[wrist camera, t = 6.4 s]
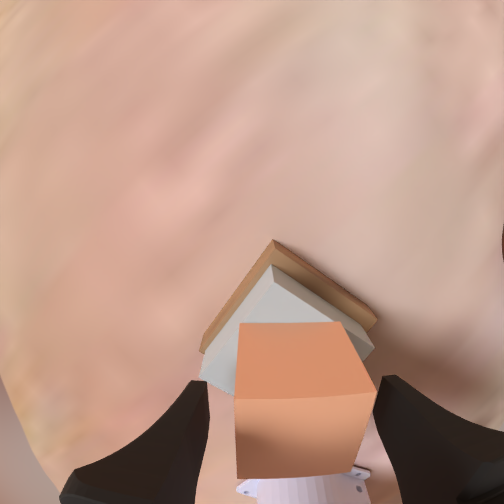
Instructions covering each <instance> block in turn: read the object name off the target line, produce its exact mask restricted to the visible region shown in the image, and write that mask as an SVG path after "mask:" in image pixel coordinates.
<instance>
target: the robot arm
mask: <svg viewBox="0 0 504 504" xmlns="http://www.w3.org/2000/svg"><path fill="white" fill-rule="evenodd" d="M373 416H374V420H375V424H376V427H377V431H378V433H379V436H380V438H381V440H382V443H383V445H384V447H385V450H386V452H387V454H388V457H389V459H390V461H391V464H392V466H393V469H394V471H395V474H396V477H397V481H398V485H399V489H400V493H401V497H402V502H403V504H504V432H502V431H497V430H493V429H490V428H486V427H483V426H480V425H478V424H475V423H472V422H470V421H467V420H465V419H463V418H461V417H459V416H457V415H455V414H453V413H451V412H449V411H447V410H446V409H444V408H442V407H441V406H439V405H438V404H436V403H435V402H433V401H432V400H430V399H429V398H427V397H426V396H424V395H423V394H421V393H420V392H419V391H417V390H416V389H415V388H413V387H412V386H411V385H409V384H408V383H406V382H405V381H404V380H402V379H401V378H399V377H398V376H396V375H389V376H382V380H381V384H380V388H379V391H378V395H377V398H376V402H375V405H374V408H373ZM209 421H210V413H209V402H208V390H207V381H194V380H192V381H190V382H189V383H188V385H187V386H186V388H185V389H184V390H183V392H182V393H181V394H180V396H179V397H178V398H177V399H176V401H175V402H174V403H173V404H172V405H171V406H170V408H169V409H168V410H167V411H166V412H165V413H164V414H163V415H162V416H161V417H160V418H159V419H158V420H157V421H156V422H155V423H154V424H153V425H152V426H151V427H150V428H149V429H148V430H146V431H145V432H144V433H143V434H142V435H140V436H139V437H138V438H136V439H135V440H134V441H132V442H131V443H129V444H128V445H126V446H125V447H123V448H122V449H120V450H118V451H117V452H115V453H113V454H111V455H109V456H107V457H105V458H103V459H101V460H99V461H96V462H94V463H91V464H89V465H86V466H83V467H80V468H77V469H74V471H73V472H72V474H71V475H70V477H69V478H68V480H67V482H66V484H65V486H64V488H63V490H62V492H61V494H60V496H59V499H60V503H61V504H195V495H196V487H197V481H198V477H199V473H200V469H201V464H202V460H203V456H204V452H205V448H206V443H207V439H208V431H209ZM370 475H371V474H370V471H368V470H364V469H361V468H357V467H354V466H353V467H352V470H351V472H347V473H339V474H331V475H322V476H312V477H299V478H280V479H247V480H246V481H244V482H243V483H242V484H240V485H239V486H237V488H236V491H237V492H238V493H241V494H244V495H247V496H250V497H254V498H257V504H371V501H370V498H369V495H368V491H367V488H366V485H365V482H364V480H366V479H367V478H368V477H369V476H370Z"/></svg>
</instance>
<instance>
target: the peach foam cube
mask: <svg viewBox="0 0 504 504" xmlns="http://www.w3.org/2000/svg"><path fill="white" fill-rule="evenodd" d="M376 394H377V390H376V388H375V386H374V384H373V382H372V380H371V379H370V377H369V375H368V373H367V371H366V369H365V367H364V365H363V363H362V361H361V359H360V357H359V356H358V354H357V352H356V350H355V348H354V346H353V344H352V342H351V340H350V339H349V337H348V335H347V333H346V331H345V329H344V327H343V326H342V324H341V322H340V321H338V322H305V323H239V336H238V350H237V364H236V378H235V392H234V413H235V438H236V461H237V479H280V478H299V477H312V476H322V475H331V474H339V473H347V472H351V470H352V467H353V465H354V462H355V459H356V456H357V454H358V451H359V448H360V445H361V442H362V439H363V436H364V433H365V430H366V427H367V424H368V421H369V418H370V415H371V411H372V408H373V405H374V401H375V398H376Z"/></svg>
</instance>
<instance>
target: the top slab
mask: <svg viewBox="0 0 504 504" xmlns="http://www.w3.org/2000/svg"><path fill="white" fill-rule="evenodd" d="M338 321H340V322H341V324H342V326H343V327H344V329H345V331H346V333H347V335H348V337H349V339H350V340H351V342H352V344H353V346H354V348H355V350H356V352H357V354H358V356H359V357H360V359H361V361H362V362H363V361H364V360H365V359H366V358H367V357H368V355H369V354H370V353H371V352H372V351H373V350H374V349H375V347H374V345H373V344H372V342H371V340H370V339H369V337H368V335H367V334H366V332H365V331H364V329H363V328H362V326H361V324H359V323H358V322H356V321H355V320H353V319H352V318H350V317H349V316H347V315H346V314H344V313H343V312H341V311H340V310H338V309H337V308H336V307H334V306H333V305H331V304H330V303H328V302H327V301H325V300H324V299H322V298H321V297H319V296H318V295H316V294H315V293H313V292H312V291H310V290H309V289H307V288H306V287H304V286H303V285H302V284H300V283H299V282H297V281H296V280H294V279H293V278H291V277H290V276H288V275H287V274H285V273H284V272H282V271H281V270H279V269H278V268H276V267H275V266H273V265H272V264H271V265H270V266H269V267H268V269H267V270H266V271H265V273H264V274H263V275H262V277H261V278H260V279H259V281H258V282H257V283H256V285H255V286H254V287H253V289H252V290H251V291H250V293H249V294H248V295H247V297H246V298H245V299H244V301H243V302H242V303H241V305H240V306H239V307H238V309H237V310H236V311H235V312H234V314H233V315H232V316H231V318H230V319H229V320H228V322H227V323H226V324H225V326H224V327H223V328H222V330H221V331H220V332H219V333H218V335H217V336H216V337H215V339H214V340H213V341H212V343H211V344H210V345H209V347H208V348H207V349H206V350H205V354H204V358H203V362H202V366H201V370H200V374H199V378H201V379H202V380H204V381H207V382H208V383H210V384H211V385H213V386H215V387H217V388H219V389H221V390H223V391H224V392H226V393H228V394H230V395H232V396H234V392H235V378H236V364H237V350H238V336H239V323H305V322H338Z"/></svg>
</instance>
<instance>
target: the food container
mask: <svg viewBox="0 0 504 504" xmlns="http://www.w3.org/2000/svg"><path fill="white" fill-rule="evenodd" d="M502 253H503V260H504V226H503V234H502Z"/></svg>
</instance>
